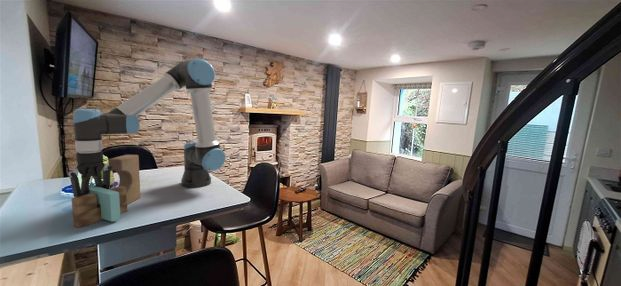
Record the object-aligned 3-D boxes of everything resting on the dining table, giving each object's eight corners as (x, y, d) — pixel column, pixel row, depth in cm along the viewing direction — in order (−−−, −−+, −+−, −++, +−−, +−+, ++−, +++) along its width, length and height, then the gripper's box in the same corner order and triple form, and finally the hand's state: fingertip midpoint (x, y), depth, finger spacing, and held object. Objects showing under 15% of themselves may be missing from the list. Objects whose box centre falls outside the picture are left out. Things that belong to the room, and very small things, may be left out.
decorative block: (123, 207, 106) (120, 159, 104) (109, 206, 106) (107, 159, 104) (141, 197, 117) (139, 154, 114) (129, 197, 117) (126, 154, 115)
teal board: (84, 212, 97) (82, 187, 96) (93, 210, 100) (92, 185, 98) (111, 221, 91) (109, 194, 90) (120, 218, 94) (119, 192, 92)
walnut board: (122, 209, 103) (121, 186, 102) (127, 211, 102) (126, 187, 101) (73, 226, 89) (71, 198, 87) (78, 227, 88) (76, 199, 86)
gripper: (107, 147, 103) (110, 203, 106) (55, 153, 88) (61, 218, 91) (119, 149, 100) (122, 206, 103) (68, 155, 85) (73, 222, 88)
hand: (94, 212), depth 97 cm, fingers closed on teal board, 3 cm apart
